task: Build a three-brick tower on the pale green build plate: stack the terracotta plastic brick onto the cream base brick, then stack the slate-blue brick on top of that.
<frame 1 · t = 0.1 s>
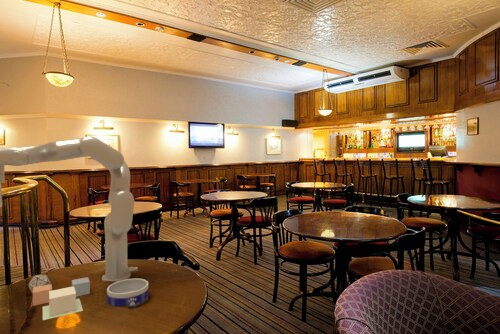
build plate: (62, 311, 111), on the table
base brick: (62, 308, 111), point 1 cm above the table, touching build plate
slate brick: (80, 295, 125), on the table
dog bowl: (128, 301, 120), on the table
terracotta brick: (42, 303, 117), on the table
game die: (39, 293, 127), on the table
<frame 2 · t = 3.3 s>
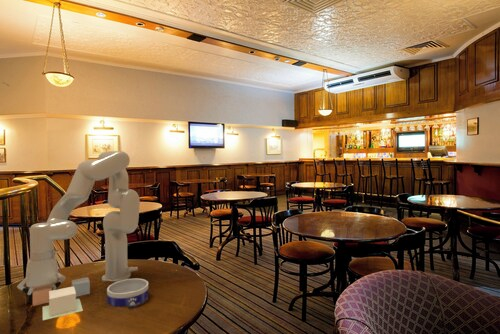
hand: (42, 301, 117), 1 cm above the table, fingers closed on terracotta brick, 6 cm apart
terracotta brick: (42, 303, 117), on the table, touching gripper
everything else where it was.
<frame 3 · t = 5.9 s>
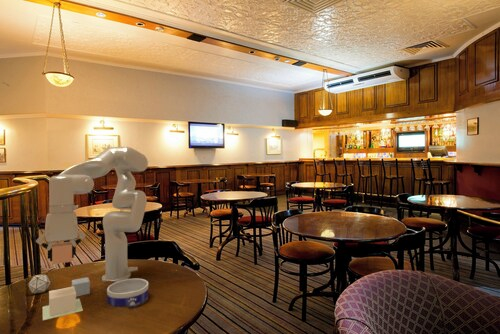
hand: (61, 258, 111), 19 cm above the table, fingers closed on terracotta brick, 6 cm apart
terracotta brick: (61, 260, 111), point 19 cm above the table, touching gripper
everything else where it was.
when the fingers open (9 cm above the table, at t = 8.3 s): terracotta brick stays where it is, resting on base brick.
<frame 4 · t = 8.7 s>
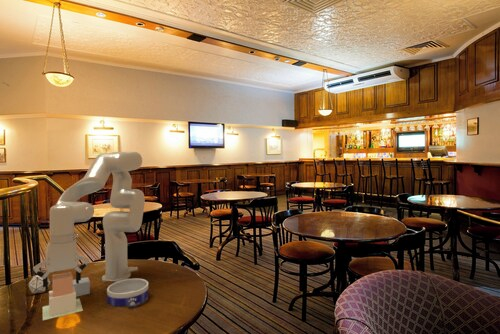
hand: (62, 285, 111), 9 cm above the table, fingers open, 9 cm apart
base brick: (62, 308, 111), point 1 cm above the table, touching build plate, terracotta brick
terracotta brick: (62, 292, 111), point 7 cm above the table, touching base brick
everything else where it was.
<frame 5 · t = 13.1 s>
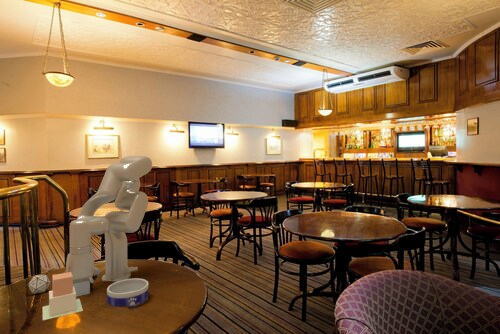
hand: (80, 293, 125), 1 cm above the table, fingers closed on slate brick, 6 cm apart
slate brick: (80, 295, 125), on the table, touching gripper
everything else where it was.
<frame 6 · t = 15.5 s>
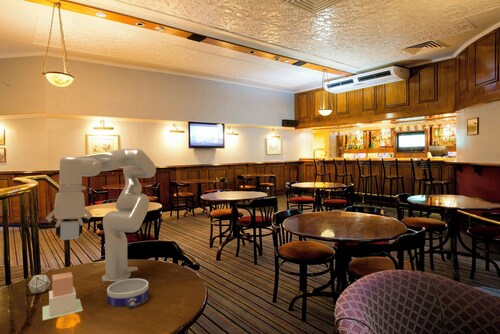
hand: (69, 235, 116), 26 cm above the table, fingers closed on slate brick, 6 cm apart
slate brick: (69, 238, 116), point 26 cm above the table, touching gripper
everything else where it was.
when the fingers open (15 cm above the table, at t = 18.3 s): slate brick drops 1 cm, resting on terracotta brick.
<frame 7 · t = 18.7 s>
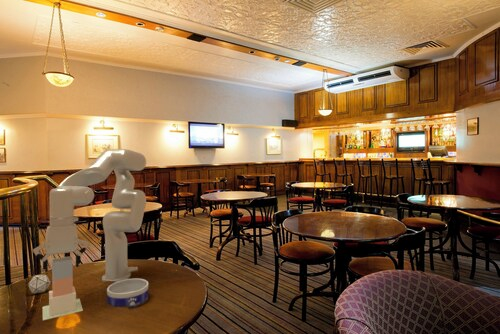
hand: (62, 268, 111), 16 cm above the table, fingers open, 9 cm apart
slate brick: (62, 275, 111), point 13 cm above the table, touching terracotta brick
terracotta brick: (62, 292, 111), point 7 cm above the table, touching base brick, slate brick
everything else where it was.
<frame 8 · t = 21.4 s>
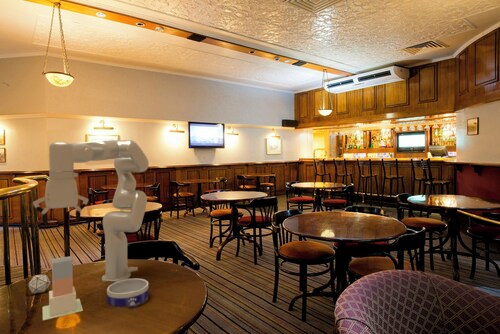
hand: (61, 223, 111), 32 cm above the table, fingers open, 9 cm apart
nothing on the table moved.
at the end: terracotta brick 0.1 cm off-centre on the base brick, point 6.0 cm above the base brick's base; slate brick 0.0 cm off-centre on the base brick, point 12.0 cm above the base brick's base; slate brick tilted 0° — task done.
